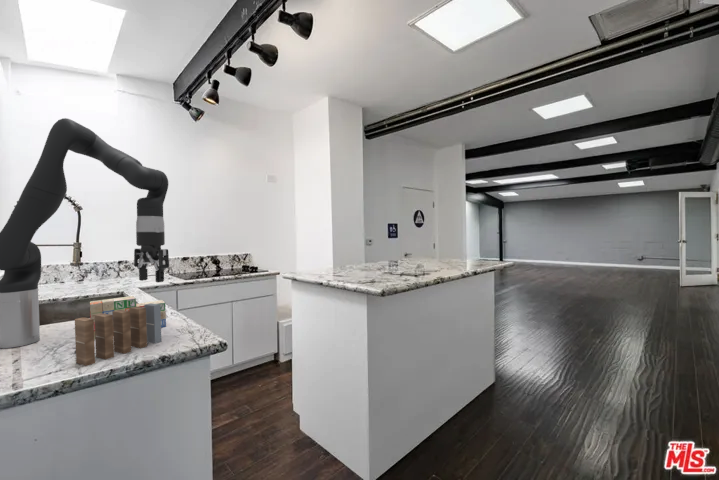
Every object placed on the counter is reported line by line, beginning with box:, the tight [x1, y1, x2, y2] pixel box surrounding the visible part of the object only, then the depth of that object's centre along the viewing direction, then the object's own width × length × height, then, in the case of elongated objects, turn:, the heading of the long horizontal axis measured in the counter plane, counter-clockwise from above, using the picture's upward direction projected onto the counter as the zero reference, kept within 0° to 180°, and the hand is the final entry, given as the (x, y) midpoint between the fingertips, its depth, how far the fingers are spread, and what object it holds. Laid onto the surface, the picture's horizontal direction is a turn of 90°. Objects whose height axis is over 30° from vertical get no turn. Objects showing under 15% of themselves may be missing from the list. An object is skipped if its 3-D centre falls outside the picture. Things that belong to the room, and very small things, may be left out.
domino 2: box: [94, 313, 115, 360], centre depth 88 cm, size 2×5×12 cm, turn 65°
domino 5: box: [144, 303, 162, 344], centre depth 100 cm, size 2×5×12 cm, turn 65°
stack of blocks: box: [89, 295, 167, 341], centre depth 111 cm, size 21×6×12 cm, turn 132°
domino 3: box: [113, 310, 132, 355], centre depth 92 cm, size 2×5×12 cm, turn 65°
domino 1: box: [74, 316, 96, 367], centre depth 84 cm, size 2×5×12 cm, turn 65°
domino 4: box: [129, 306, 148, 349], centre depth 96 cm, size 2×5×12 cm, turn 65°
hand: (151, 281), depth 100 cm, fingers open, 8 cm apart
